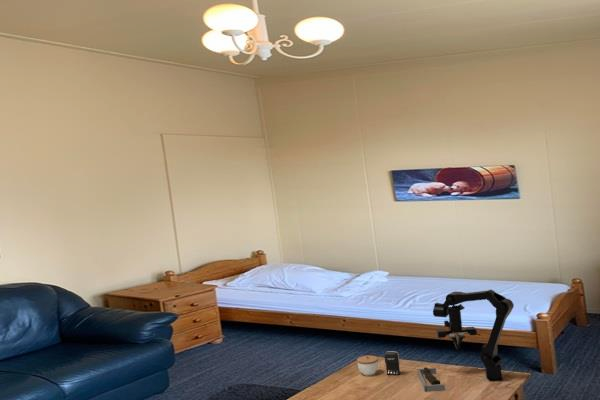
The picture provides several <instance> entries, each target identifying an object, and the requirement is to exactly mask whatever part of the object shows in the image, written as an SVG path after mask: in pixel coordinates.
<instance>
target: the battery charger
mask: <svg viewBox="0 0 600 400" xmlns="http://www.w3.org/2000/svg"><path fill="white" fill-rule="evenodd" d="M384 363H385V370H386V375H387V376H399V375H401V370H400V355H399V352H397V351H391V350H390V351H386V352H385V353H384Z"/></svg>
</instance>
